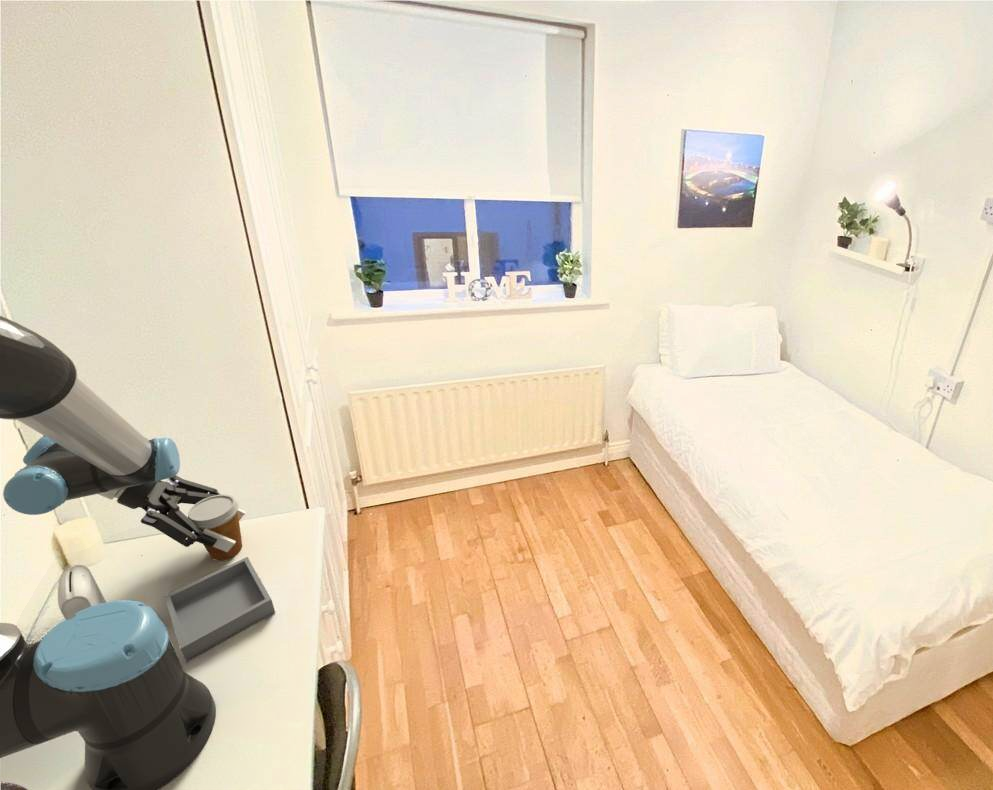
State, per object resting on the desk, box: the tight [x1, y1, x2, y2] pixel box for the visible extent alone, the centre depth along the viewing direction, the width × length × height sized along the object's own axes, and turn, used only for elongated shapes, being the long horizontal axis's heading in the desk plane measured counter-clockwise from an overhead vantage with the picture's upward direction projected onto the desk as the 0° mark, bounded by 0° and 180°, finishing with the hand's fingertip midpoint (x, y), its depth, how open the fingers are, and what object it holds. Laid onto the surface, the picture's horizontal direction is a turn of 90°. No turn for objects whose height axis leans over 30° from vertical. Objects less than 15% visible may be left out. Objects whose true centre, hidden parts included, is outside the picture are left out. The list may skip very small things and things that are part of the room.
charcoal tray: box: [163, 556, 276, 663], centre depth 85 cm, size 15×15×4 cm
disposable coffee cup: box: [187, 494, 243, 561], centre depth 98 cm, size 10×10×12 cm
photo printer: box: [57, 564, 107, 620], centre depth 81 cm, size 10×4×12 cm, turn 39°
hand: (237, 531), depth 99 cm, fingers closed on disposable coffee cup, 9 cm apart
